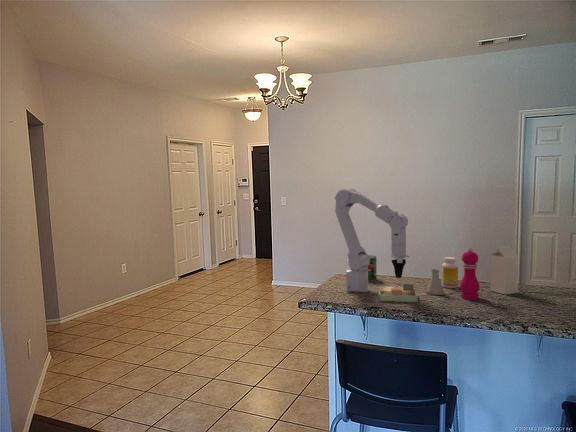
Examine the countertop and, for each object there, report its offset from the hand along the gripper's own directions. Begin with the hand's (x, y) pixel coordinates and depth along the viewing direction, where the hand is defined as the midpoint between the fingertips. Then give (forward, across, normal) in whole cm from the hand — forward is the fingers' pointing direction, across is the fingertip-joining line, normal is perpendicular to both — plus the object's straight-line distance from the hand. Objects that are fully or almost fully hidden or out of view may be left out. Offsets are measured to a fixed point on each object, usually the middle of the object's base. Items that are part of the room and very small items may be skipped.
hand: (398, 277), depth 168 cm
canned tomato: (+8, +29, +12) cm, 33 cm away
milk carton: (+8, +11, -43) cm, 45 cm away
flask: (+8, +6, -15) cm, 18 cm away
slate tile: (+5, +1, -4) cm, 6 cm away
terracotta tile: (+5, -6, +1) cm, 8 cm away
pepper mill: (+8, 0, -27) cm, 28 cm away
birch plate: (+7, 0, +1) cm, 7 cm away
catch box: (+7, -7, +1) cm, 10 cm away
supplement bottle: (+8, +18, -23) cm, 30 cm away
